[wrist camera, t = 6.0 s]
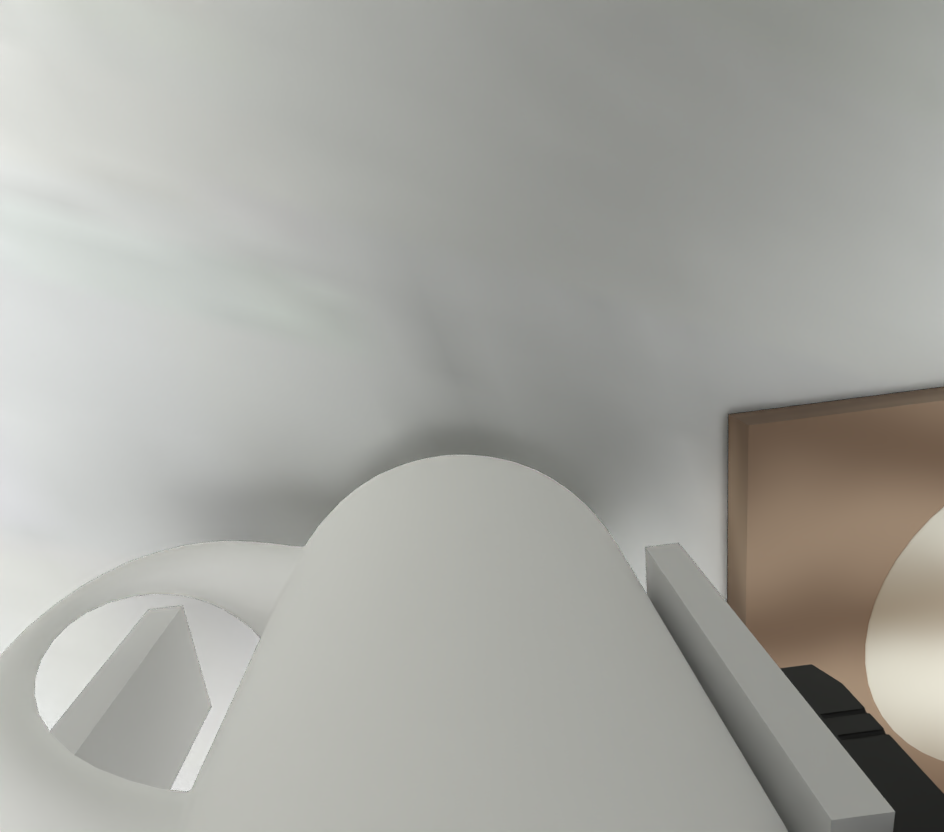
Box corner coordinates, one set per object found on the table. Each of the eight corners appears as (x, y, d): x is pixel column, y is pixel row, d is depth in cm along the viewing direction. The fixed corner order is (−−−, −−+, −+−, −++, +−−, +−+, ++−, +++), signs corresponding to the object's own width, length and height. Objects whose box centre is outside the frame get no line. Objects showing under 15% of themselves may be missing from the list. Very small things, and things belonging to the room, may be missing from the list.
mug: (231, 330, 14) (-421, 590, 3) (676, 518, 16) (1143, 1051, 5) (125, 629, 16) (-489, 1377, 5) (532, 763, 17) (665, 1504, 7)
